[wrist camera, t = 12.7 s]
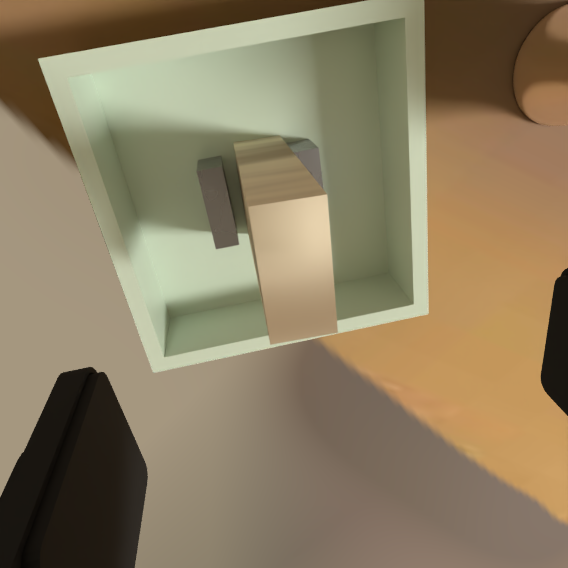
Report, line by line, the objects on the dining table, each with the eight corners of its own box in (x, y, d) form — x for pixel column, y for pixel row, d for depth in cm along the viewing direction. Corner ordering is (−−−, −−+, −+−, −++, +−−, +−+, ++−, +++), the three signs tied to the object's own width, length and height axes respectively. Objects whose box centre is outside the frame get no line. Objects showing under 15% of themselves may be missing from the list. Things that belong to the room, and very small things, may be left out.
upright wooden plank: (233, 142, 23) (247, 206, 14) (279, 135, 24) (327, 194, 14) (248, 233, 26) (270, 344, 16) (290, 226, 26) (337, 332, 16)
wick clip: (198, 160, 24) (196, 171, 21) (308, 138, 24) (318, 147, 22) (215, 232, 25) (215, 249, 23) (318, 211, 26) (328, 226, 24)
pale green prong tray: (73, 57, 22) (37, 59, 17) (382, 2, 22) (423, -10, 18) (162, 323, 29) (153, 372, 24) (395, 274, 29) (428, 313, 25)
